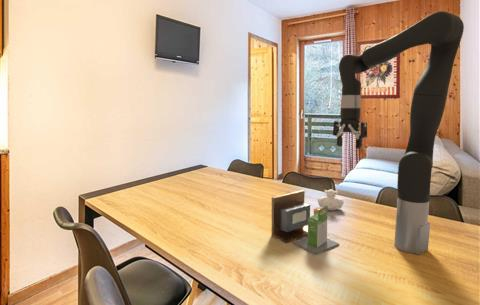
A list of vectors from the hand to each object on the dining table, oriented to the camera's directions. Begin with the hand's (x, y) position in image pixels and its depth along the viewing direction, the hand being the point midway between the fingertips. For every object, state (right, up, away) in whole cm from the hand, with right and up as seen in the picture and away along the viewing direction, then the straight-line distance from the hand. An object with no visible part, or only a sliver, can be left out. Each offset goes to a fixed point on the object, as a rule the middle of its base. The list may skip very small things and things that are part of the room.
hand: (348, 147), depth 122 cm
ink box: (-17, -34, -16) cm, 41 cm away
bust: (-2, -29, +20) cm, 35 cm away
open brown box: (-23, -33, -7) cm, 41 cm away
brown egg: (-10, -31, +6) cm, 33 cm away
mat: (-17, -35, -16) cm, 42 cm away
